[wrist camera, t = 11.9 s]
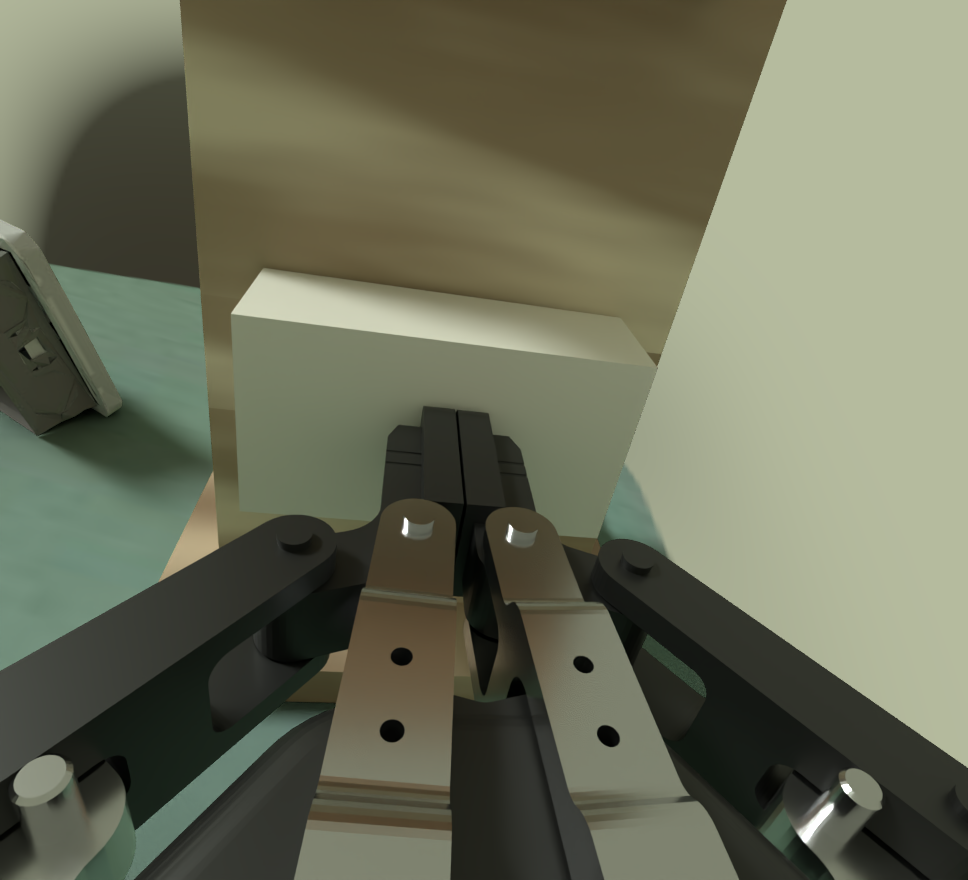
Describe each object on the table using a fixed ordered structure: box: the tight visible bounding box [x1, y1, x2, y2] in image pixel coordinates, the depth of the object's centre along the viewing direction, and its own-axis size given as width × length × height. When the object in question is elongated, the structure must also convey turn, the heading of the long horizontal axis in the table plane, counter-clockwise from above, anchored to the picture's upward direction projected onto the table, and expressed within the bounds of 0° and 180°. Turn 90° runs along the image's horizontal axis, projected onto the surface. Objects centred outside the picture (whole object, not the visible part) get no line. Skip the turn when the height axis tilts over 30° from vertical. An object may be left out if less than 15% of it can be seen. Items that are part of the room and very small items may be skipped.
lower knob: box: [231, 268, 658, 538], centre depth 17 cm, size 8×9×5 cm
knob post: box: [159, 0, 787, 703], centre depth 17 cm, size 13×16×28 cm
